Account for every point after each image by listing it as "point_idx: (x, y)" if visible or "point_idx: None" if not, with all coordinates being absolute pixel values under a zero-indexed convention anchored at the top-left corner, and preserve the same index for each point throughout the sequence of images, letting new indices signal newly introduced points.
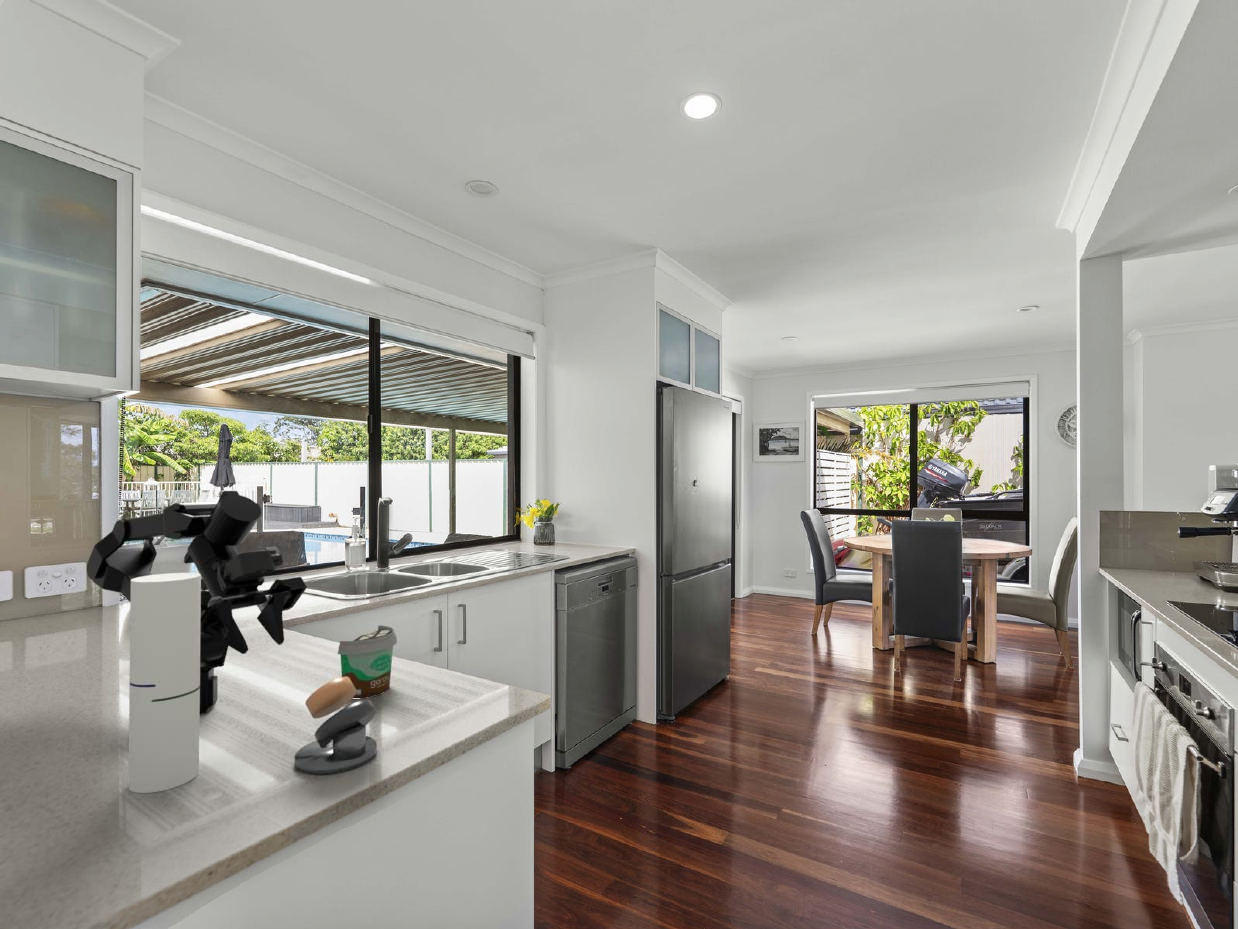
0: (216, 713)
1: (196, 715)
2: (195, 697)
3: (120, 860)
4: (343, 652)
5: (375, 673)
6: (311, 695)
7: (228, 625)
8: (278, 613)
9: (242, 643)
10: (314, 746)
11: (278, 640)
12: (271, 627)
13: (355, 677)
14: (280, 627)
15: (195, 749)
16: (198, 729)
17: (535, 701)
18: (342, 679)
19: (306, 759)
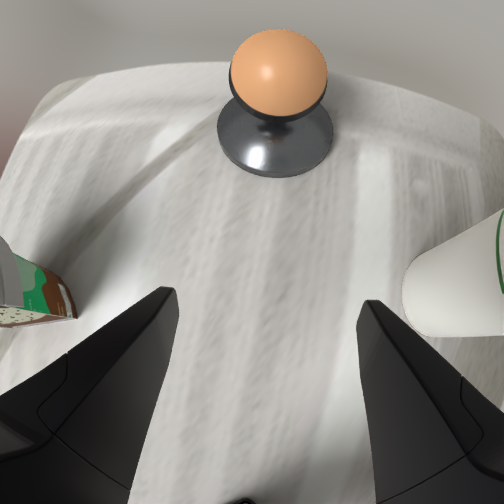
0: (230, 488)
1: (471, 228)
2: (496, 213)
3: (489, 166)
4: (18, 290)
5: (27, 260)
6: (325, 66)
7: (486, 401)
8: (46, 393)
9: (396, 318)
10: (283, 156)
11: (172, 316)
12: (134, 404)
13: (46, 285)
14: (122, 327)
15: (438, 246)
16: (448, 245)
17: (60, 85)
18: (274, 30)
19: (319, 135)
